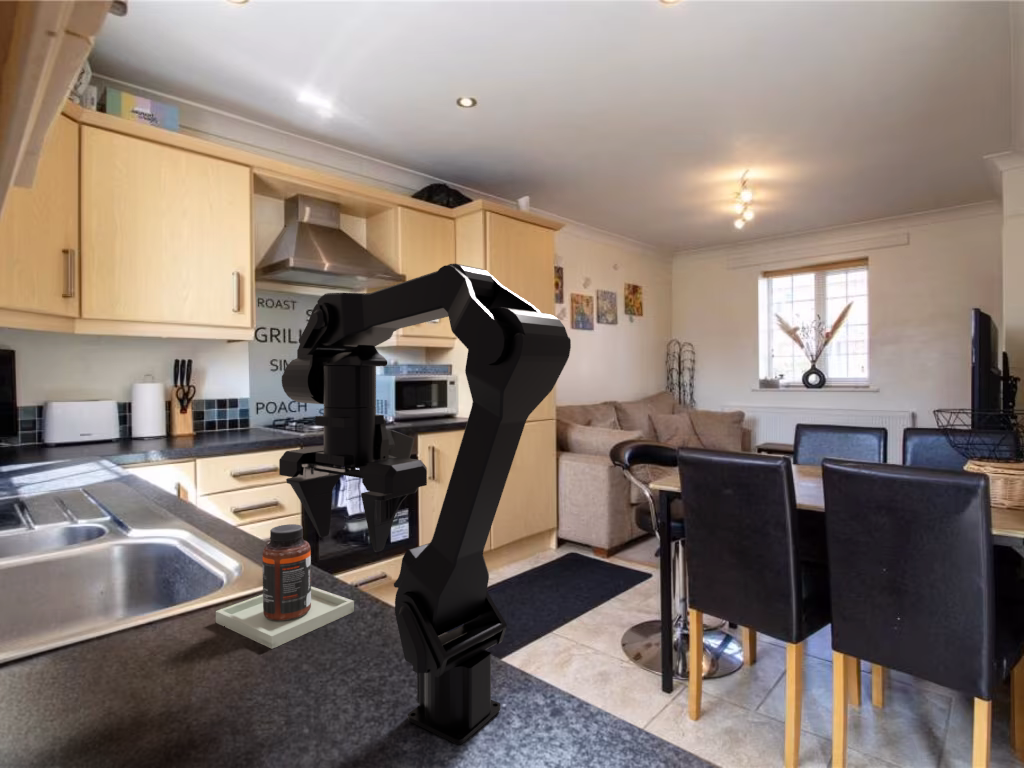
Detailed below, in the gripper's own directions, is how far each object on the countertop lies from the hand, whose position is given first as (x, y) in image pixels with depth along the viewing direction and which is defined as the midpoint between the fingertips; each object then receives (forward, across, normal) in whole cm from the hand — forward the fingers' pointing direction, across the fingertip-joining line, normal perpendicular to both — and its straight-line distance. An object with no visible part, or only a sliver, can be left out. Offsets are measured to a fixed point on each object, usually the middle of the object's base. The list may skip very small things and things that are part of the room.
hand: (350, 543), depth 64 cm
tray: (+13, +15, -2) cm, 20 cm away
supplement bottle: (+13, +15, -2) cm, 20 cm away
